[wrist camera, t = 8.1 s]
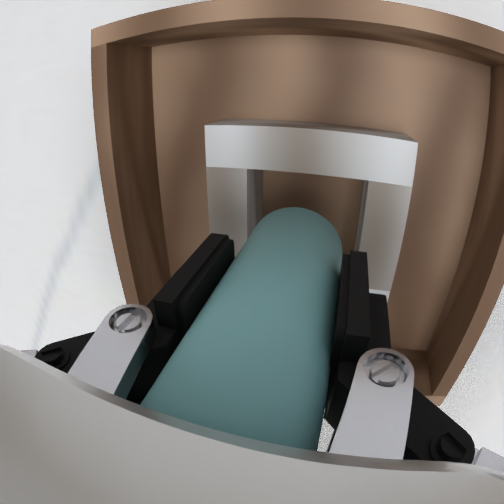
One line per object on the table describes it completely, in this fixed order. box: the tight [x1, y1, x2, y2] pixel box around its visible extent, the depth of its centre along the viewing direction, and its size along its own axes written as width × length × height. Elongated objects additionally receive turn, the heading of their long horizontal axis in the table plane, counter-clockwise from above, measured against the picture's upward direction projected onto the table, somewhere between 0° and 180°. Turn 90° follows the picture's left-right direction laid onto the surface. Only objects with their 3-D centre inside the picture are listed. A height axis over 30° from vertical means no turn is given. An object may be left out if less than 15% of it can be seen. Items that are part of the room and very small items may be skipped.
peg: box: [140, 207, 342, 451], centre depth 8 cm, size 4×4×10 cm
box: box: [91, 0, 504, 406], centre depth 16 cm, size 20×20×5 cm
